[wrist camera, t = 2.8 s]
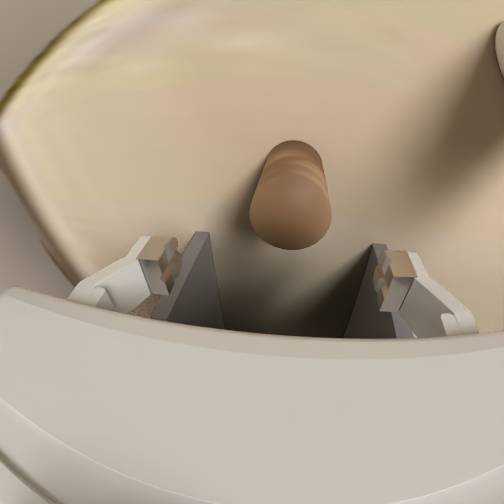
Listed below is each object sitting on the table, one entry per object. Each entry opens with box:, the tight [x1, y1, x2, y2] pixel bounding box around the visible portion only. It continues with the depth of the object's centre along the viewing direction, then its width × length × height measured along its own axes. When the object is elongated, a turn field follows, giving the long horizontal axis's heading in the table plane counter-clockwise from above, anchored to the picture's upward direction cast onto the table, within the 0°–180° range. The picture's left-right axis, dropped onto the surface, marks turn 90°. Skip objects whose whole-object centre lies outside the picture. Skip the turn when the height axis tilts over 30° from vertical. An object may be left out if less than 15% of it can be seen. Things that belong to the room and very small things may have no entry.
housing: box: [150, 232, 414, 339], centre depth 29 cm, size 16×35×10 cm, turn 2°
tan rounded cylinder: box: [249, 140, 331, 250], centre depth 16 cm, size 4×4×7 cm
